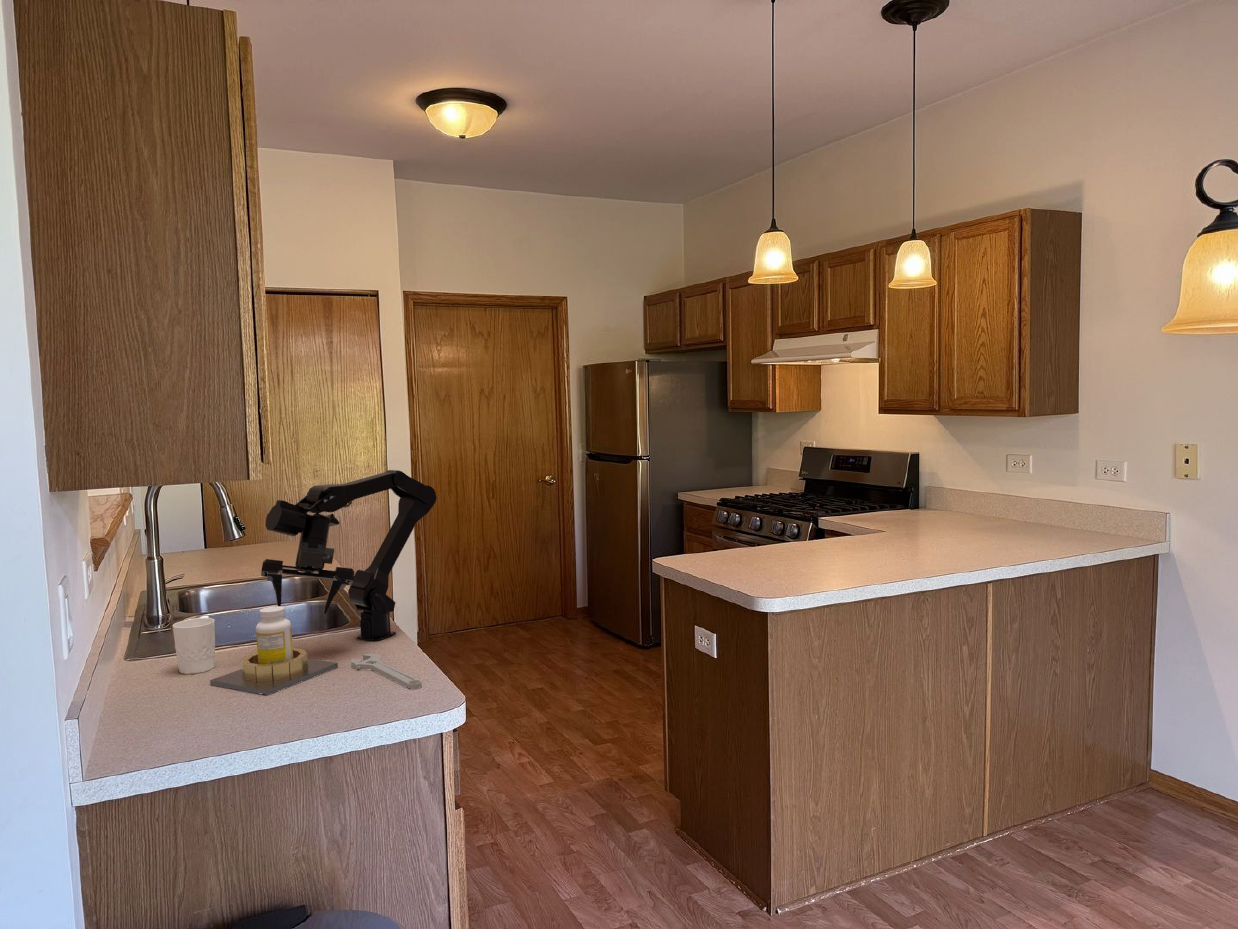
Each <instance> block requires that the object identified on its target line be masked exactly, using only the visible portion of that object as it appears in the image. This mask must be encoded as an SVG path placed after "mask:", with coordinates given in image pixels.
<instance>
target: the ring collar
mask: <svg viewBox="0 0 1238 929" xmlns="http://www.w3.org/2000/svg"><path fill="white" fill-rule="evenodd" d="M240 662H241V669H238V670H235V671H232V672H229V673H226V674H224V675H221V676H218V677H215V678H212V679H210V680H209V685H210V686H212V687H213V686H214V687H220V688H224V687H226V688H225V689H229V688H232V689H231V690H234V689H237V690H236V691H240V690H242V691H241V692H245V691H246V692H247V693H250V692H251V693H252V694H256V693H262V694H266V695H265V696H269V695H268V694H270V693H272V694H275V693H277V692H279V691H278V690H280V691H282V690H281V689H283V688H285V689H287V688H286V687H288V688H290V687H292V685H293V686H294V685H298V684H300V683H302V682H301V681H303V682H305V681H308V680H310V679H313V678H315V677H317V675H318V676H320V674H321V675H323V674H325V672H326V673H328V672H330V670H331V671H332V669H333V670H335V669H339V662H333V661H328V660H322V659H321V660H320V659H313V658H308V653H307V651H306V650H304V649H303V648H302V649H301V648H297V647H293V659H291V660H289V661H285V662H280V663H274V664H258V652H257V651H256V652H255V653H251V654H249V655H247V656H245V657H244V658H243V659H242V660H240ZM327 671H328V672H327ZM314 676H315V677H314ZM312 677H313V678H312ZM307 679H308V680H307ZM299 682H300V683H299ZM297 683H298V684H297ZM283 690H284V689H283ZM276 691H277V692H276ZM274 692H275V693H274ZM251 693H250V694H251ZM270 695H271V694H270Z"/></svg>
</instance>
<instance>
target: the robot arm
mask: <svg viewBox="0 0 1238 929" xmlns="http://www.w3.org/2000/svg"><path fill="white" fill-rule="evenodd" d="M388 490H391V491H392V492H393V494H394V495H396V496H397V497H399V500H398V505H397V506H398V510H397V516H396V518H395V520H394V521H393V523H392V524H391V526H390V528H389V530H388V532H387V533H386V536H385V538H384V539H383V542H382V543H381V545H380V547H379V548H378V550H377V553H376V554H375V556H374V558H373V559H372V561H371V564H370V565H369V566H368V567H367V568H366V569H365V570H362V569H357V570H356V572H355V570H354V569H353V568H351V567H342V566H336V568H335V570H329V569H324V567H325V564H327V565H332V564H333V562H334V555H335V548H331V547H327V546H328V539H329V532H330V527H335V526H337V525H340V521H339V520H338V519H337V517H336V516H335V515H334V513H335V512H337V511H339V510H342V509H343V508H344V507H346V506H347V505H349V504H350V503H352V502H353V501H355V500H358V499H361V498H363V497H367V496H370V495H374V494H378V493H381V492H385V491H388ZM437 498H438V495H437V494H436V491H435V489H434V488H433V487H432V486H430V485H426V484H424V483H422V482H421V481H418V480H416V479H415V478H412V477H411V476H409V475H407V474H406V473H405V472H403V471H402V470H397V469H395V470H394V469H388V470H386V471H384V472H382V473H377V474H374V475H370V476H367V477H363V478H359V479H356V480H353V481H348V482H346V483H337V484H335V483H334V484H333V483H332V484H320V485H318V484H317V485H313V486H311V487H310V488H309V489H308V491H307V494H306V495H305V496H304V497H302V498H301V499H300V500H299V501H298V502H296V503H295V504H293V503H290V502H288V501H286V500H283V499H282V500H281V499H277V500H276V502H275V504H274V505H273V506H272V507H271V509H270V510H269V512H268V513H267V514H266V517H265V527H266V528H265V529H266V530H268V531H269V532H270V531H271V532H274V533H279V534H282V535H286V536H290V537H296V536H297V535H298V534H300V537H299V542H298V547H297V554H296V558H295V559H296V560H295V566H292V565H284V560H281V559H279V560H278V559H269V558H266V559H265V560H263V561H262V565H261V570H260V571H261V572H260V573H261V574H260V576H261V577H264V578H265V577H266V581H267V582H271V584H272V587H273V590H274V594H275V599H276V600H275V601H276V606H282V597H283V596H282V594H283V593H282V591H283V589H282V588H283V575H289V576H296V577H297V576H298V577H305V578H306V577H307V578H315V579H316V578H317V579H327V580H332V581H331V585H330V588H329V592H328V594H327V598H326V602H325V605H324V608H323V615H324V616H326V615H327V612H328V610H329V607H330V606H331V604H332V601H333V600H334V598H335V597H336V595H337V593H338V592H339V590H340V589H341V590H342V589H343V590H344V589H345V588H346V586H349V588H348V590H347V591H348V592H347V594H348V598H349V601H350V602H351V603H353V605H354V607H355V609H356V611H361V612H360V620H359V624H360V625H359V626H360V634H358V635H357V636H356V639H357V640H358V639H360V640H367V641H374V642H378V641H381V640H384V639H386V638H389V637H391V636H394V635H396V634H397V632H396V631H391V614H390V613H391V612H394V610H395V607H396V601H395V600H393V599H392V598H391V597H390V596H389V595H388V594H387V593H388V591H389V590H388V589H389V583H390V582H389V580H390V578H389V577H390V573H391V572H392V570H393V568H394V566H395V564H396V562H397V561H398V559H399V556H400V555H401V552H402V551H403V550H404V547H405V546H406V543H407V542H408V540H409V538H410V536H411V534H412V532H413V530H414V529H415V526H416V525H417V523H418V522H419V521H420V520H422V519H423V518H424V517H425V516H426V515H428V514H429V512H430V511H431V510H432V509H433V508H434V505H435V504H436V502H437ZM323 512H324V513H330V514H327V515H324V514H321V513H323ZM308 513H311V514H308ZM312 514H313V515H312Z"/></svg>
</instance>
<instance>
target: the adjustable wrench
mask: <svg viewBox="0 0 1238 929" xmlns="http://www.w3.org/2000/svg"><path fill="white" fill-rule="evenodd" d="M363 660H364V661H363ZM350 661H351V668H352V669H354V670H355V669H359V670H358V671H361V670H360V669H371V670H374V671H376V672H378V673H380V674H381V675H380V674H379V675H380V676H382V675H384V676H386V677H388V678H390V679H392V680H393V681H392V680H391V681H392V682H394V681H396V682H398V683H400V684H401V685H400V684H399V685H400V686H402V685H403V686H402V687H404V686H405V687H404V688H406V687H408V688H410V689H409V690H411V689H414V690H418V689H417V688H419V687H421V688H422V687H423V686H422V685H423V684H422V680H421V679H419V678H416V677H414V676H411V675H409V674H407V673H405V672H403V671H402V670H401V671H400V670H399V669H397V668H395V667H392V666H389V665H387V664H386V663H383V662H382V656H381V655H380V654H375V653H367V654H362V659H356V658H351V660H350ZM374 671H373V672H374ZM376 672H375V673H376ZM378 673H377V674H378ZM384 676H383V677H384ZM386 677H385V678H386ZM388 678H387V679H388ZM390 679H389V680H390ZM396 682H395V683H396ZM398 683H397V684H398ZM408 688H407V689H408ZM419 689H420V688H419Z"/></svg>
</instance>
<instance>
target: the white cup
mask: <svg viewBox="0 0 1238 929" xmlns="http://www.w3.org/2000/svg"><path fill="white" fill-rule="evenodd" d="M215 624H216V623H215V619H214V618H212V617H198V618H197V617H196V618H190V619H185V620H181V621H177V622H175V623H173V624H172V632H173V639H174V647H175V652H176V659H177V664H178V666H177V667H178V672H179V673H181V674H184V675H193V674H194V675H195V674H200V673H204V672H209V671H210V670H213V669H214V668H215V666H216V662H215V661H216V658H215V654H216V636H215V635H216V628H215V627H216V626H215Z"/></svg>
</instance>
